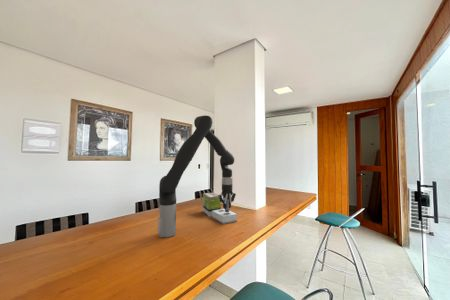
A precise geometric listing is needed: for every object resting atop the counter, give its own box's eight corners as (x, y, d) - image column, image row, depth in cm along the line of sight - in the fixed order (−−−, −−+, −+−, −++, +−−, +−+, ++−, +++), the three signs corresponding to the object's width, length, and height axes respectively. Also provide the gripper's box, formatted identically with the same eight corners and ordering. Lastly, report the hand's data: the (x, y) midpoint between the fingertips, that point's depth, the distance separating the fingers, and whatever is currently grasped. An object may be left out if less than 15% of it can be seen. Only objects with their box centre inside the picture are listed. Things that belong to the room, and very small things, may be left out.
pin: (226, 212, 127) (226, 199, 127) (224, 211, 129) (224, 198, 130) (230, 211, 128) (230, 198, 129) (227, 210, 131) (227, 197, 131)
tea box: (202, 211, 152) (202, 193, 152) (213, 210, 156) (213, 192, 156) (208, 216, 138) (208, 196, 139) (221, 215, 142) (221, 195, 143)
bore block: (223, 224, 122) (223, 216, 122) (212, 217, 136) (212, 210, 136) (236, 221, 128) (236, 214, 128) (224, 215, 142) (224, 208, 142)
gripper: (221, 184, 123) (220, 211, 122) (238, 183, 130) (238, 208, 129) (215, 183, 129) (215, 208, 128) (232, 182, 136) (232, 206, 136)
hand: (227, 208), depth 129 cm, fingers closed on pin, 3 cm apart
